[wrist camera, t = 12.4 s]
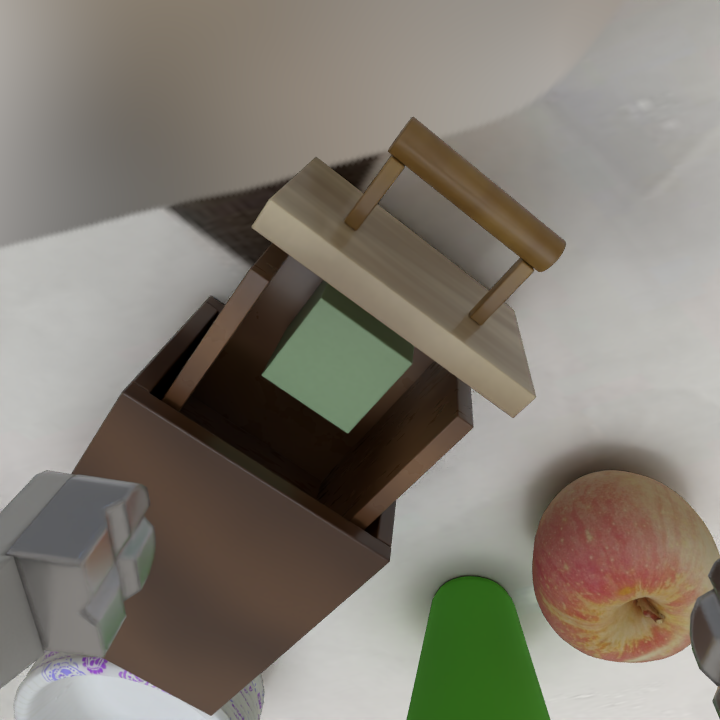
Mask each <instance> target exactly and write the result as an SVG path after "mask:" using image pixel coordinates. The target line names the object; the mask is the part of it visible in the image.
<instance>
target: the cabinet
mask: <svg viewBox="0 0 720 720" xmlns="http://www.w3.org/2000/svg"><path fill="white" fill-rule="evenodd" d="M224 306H225V305H223V304H222V303H220V302H219V301H217V300H216V299H215V298H213V297H211V296H210V297H209V298H208V299H207V300H206V301H205V302H204V303H203V304H202V305H201V307H200V308H199V309H198V310H197V311H196V312H195V313H194V314H193V315H192V316H191V317H190V319H189V320H188V321H187V322H186V323H185V324H184V325H183V326H182V327H181V328H180V329H179V331H178V332H177V333H176V334H175V335H174V336H173V337H172V338H171V339H170V340H169V341H168V343H167V344H166V345H165V346H164V347H163V348H162V349H161V350H160V351H159V352H158V353H157V355H156V356H155V357H154V358H153V359H152V360H151V361H150V362H149V363H148V364H147V365H146V367H145V368H144V369H143V370H142V371H141V372H140V373H139V374H138V375H137V376H136V377H135V379H134V380H133V381H132V382H131V383H130V384H129V385H128V386H127V387H126V388H125V389H124V390H123V392H122V393H121V395H120V396H119V398H118V399H117V401H116V403H115V404H114V406H113V407H112V409H111V411H110V412H109V414H108V416H107V417H106V419H105V420H104V422H103V424H102V425H101V427H100V428H99V430H98V432H97V433H96V435H95V436H94V438H93V440H92V441H91V443H90V444H89V446H88V448H87V449H86V451H85V452H84V454H83V456H82V457H81V459H80V461H79V462H78V464H77V465H76V467H75V469H74V470H73V472H72V473H71V474H74V475H78V474H80V475H86V476H93V477H100V478H106V479H113V480H120V481H126V482H133V483H140V484H142V485H144V486H146V487H147V489H148V494H149V498H150V503H151V505H150V506H149V508H148V510H147V511H146V513H145V515H144V516H145V517H146V519H147V520H148V521H149V522H150V523H151V524H152V525H153V526H154V528H155V536H156V548H155V557H154V560H153V564H152V567H151V570H150V574H149V576H148V578H147V580H146V582H145V584H144V585H143V587H142V589H141V591H139V592H138V593H136V594H135V595H133V596H132V597H130V598H129V599H127V600H126V601H124V605H125V610H126V615H127V617H126V618H125V620H124V622H123V624H122V626H121V627H120V629H119V631H118V633H117V635H116V637H115V638H114V640H113V642H112V644H111V646H110V647H109V649H108V651H107V653H106V655H105V656H104V658H103V657H101V658H103V659H105V660H107V661H109V662H111V663H113V664H114V665H116V666H118V667H120V668H122V669H124V670H126V671H128V672H129V673H131V674H133V675H135V676H137V677H139V678H141V679H143V680H144V681H146V682H148V683H150V684H152V685H154V686H156V687H158V688H159V689H161V690H163V691H165V692H167V693H169V694H171V695H172V696H174V697H176V698H178V699H180V700H182V701H184V702H186V703H187V704H189V705H191V706H193V707H195V708H197V709H199V710H201V711H202V712H204V713H206V714H208V715H210V716H212V715H213V714H214V713H216V712H217V711H218V710H219V709H220V708H221V707H223V706H224V705H225V704H226V703H227V702H228V701H229V700H231V699H232V698H233V697H234V696H235V695H236V694H237V693H239V692H240V691H241V690H242V689H243V688H244V687H246V686H247V685H248V684H249V683H250V682H251V681H252V680H254V679H255V678H256V677H257V676H258V675H259V674H261V673H262V672H263V671H264V670H265V669H266V668H267V667H269V666H270V665H271V664H272V663H273V662H274V661H276V660H277V659H278V658H279V657H280V656H281V655H282V654H284V653H285V652H286V651H287V650H288V649H289V648H291V647H292V646H293V645H294V644H295V643H296V642H297V641H299V640H300V639H301V638H302V637H303V636H304V635H306V634H307V633H308V632H309V631H310V630H311V629H312V628H314V627H315V626H316V625H317V624H318V623H319V622H321V621H322V620H323V619H324V618H325V617H326V616H327V615H329V614H330V613H331V612H332V611H333V610H334V609H335V608H337V607H338V606H339V605H340V604H341V603H342V602H344V601H345V600H346V599H347V598H348V597H349V596H350V595H352V594H353V593H354V592H355V591H356V590H357V589H359V588H360V587H361V586H362V585H363V584H364V583H365V582H367V581H368V580H369V579H370V578H371V577H372V576H374V575H375V574H376V573H377V572H378V571H379V570H380V569H382V568H383V567H384V566H385V565H386V564H387V563H389V561H390V554H391V548H390V547H391V544H392V535H393V525H394V516H395V507H396V500H395V501H394V502H393V503H392V504H391V505H390V506H389V507H388V508H387V509H386V510H385V511H384V512H383V513H381V514H380V515H379V516H378V517H377V518H376V519H375V520H374V521H373V522H372V523H371V524H370V525H369V526H368V527H367V528H365V529H364V530H362V529H361V528H359V527H358V526H356V525H355V524H353V523H351V522H350V521H348V520H347V519H345V518H344V517H342V516H341V515H339V514H337V513H336V512H334V511H333V510H331V509H330V508H328V507H326V506H325V505H323V504H322V503H320V502H319V501H317V500H316V499H314V498H312V497H311V496H309V495H308V494H306V493H305V492H303V491H301V490H300V489H298V488H297V487H295V486H294V485H292V484H291V483H289V482H287V481H286V480H284V479H283V478H281V477H280V476H278V475H277V474H275V473H273V472H272V471H270V470H269V469H267V468H266V467H264V466H262V465H261V464H259V463H258V462H256V461H255V460H253V459H252V458H250V457H248V456H247V455H245V454H244V453H242V452H241V451H239V450H237V449H236V448H234V447H233V446H231V445H230V444H228V443H227V442H225V441H223V440H222V439H220V438H219V437H217V436H216V435H214V434H212V433H211V432H209V431H208V430H206V429H205V428H203V427H202V426H200V425H198V424H197V423H195V422H194V421H192V420H191V419H189V418H187V417H186V416H184V415H183V414H181V413H180V412H178V411H177V410H175V409H173V408H172V407H170V406H169V405H167V404H166V403H164V402H163V401H161V400H162V399H163V397H164V396H165V394H166V393H167V391H168V390H169V388H170V387H171V385H172V384H173V382H174V381H175V379H176V378H177V376H178V375H179V373H180V372H181V370H182V369H183V367H184V366H185V364H186V363H187V361H188V360H189V358H190V357H191V355H192V354H193V353H194V351H195V350H196V348H197V347H198V345H199V344H200V342H201V341H202V339H203V338H204V336H205V335H206V333H207V332H208V330H209V329H210V327H211V326H212V324H213V323H214V321H215V320H216V318H217V317H218V315H219V314H220V312H221V311H222V309H223V308H224Z"/></svg>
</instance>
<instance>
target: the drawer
mask: <svg viewBox="0 0 720 720" xmlns="http://www.w3.org/2000/svg"><path fill="white" fill-rule="evenodd" d="M388 152H389V153H390V154H391V156H390V158H389V159H388V160H387V162H386V163H385V165H384V166H383V167H382V169H381V170H380V171H379V173H378V174H377V176H376V177H375V178H374V180H373V181H372V182H371V184H370V185H369V186H368V188H367V189H366V191H365V192H364V193H362V192H361V191H360V190H358V189H357V188H356V187H355V186H353V185H352V184H351V183H349V182H348V181H347V180H345V179H344V178H343V177H342V176H340V175H339V174H338V173H336V172H335V171H334V170H333V169H331V168H330V167H329V166H327V165H326V164H325V163H324V162H322V161H321V160H320V159H318V158H317V157H316V158H314V159H313V160H312V161H311V162H310V163H309V164H307V165H306V166H305V167H304V168H303V169H302V170H301V171H300V172H299V173H298V174H296V175H295V176H294V177H293V178H292V179H291V180H290V181H289V182H288V183H287V184H285V185H284V186H283V187H282V188H281V189H280V190H279V191H278V192H277V193H276V194H274V195H273V196H272V197H271V198H270V199H269V200H268V202H267V203H266V205H265V206H264V208H263V210H262V211H261V213H260V214H259V216H258V217H257V219H256V220H255V222H254V223H253V225H252V228H253V229H254V230H255V231H257V232H258V233H260V234H261V235H262V236H264V237H265V238H266V239H268V240H269V241H271V242H272V243H271V245H270V246H269V247H268V248H267V249H266V250H265V252H264V253H263V254H262V255H261V256H260V257H259V259H258V260H257V261H256V262H255V263H254V265H253V266H252V267H251V268H250V269H249V271H248V272H247V274H246V275H245V277H244V278H243V280H242V281H241V283H240V284H239V286H238V287H237V289H236V290H235V292H234V293H233V295H232V296H231V298H230V299H229V301H228V302H227V304H226V305H225V306H224V308H223V309H222V311H221V312H220V314H219V315H218V317H217V318H216V320H215V321H214V323H213V324H212V326H211V327H210V329H209V330H208V332H207V333H206V335H205V336H204V338H203V339H202V341H201V342H200V344H199V345H198V347H197V348H196V350H195V351H194V353H193V354H192V355H191V357H190V358H189V360H188V361H187V363H186V364H185V366H184V367H183V369H182V370H181V372H180V373H179V375H178V376H177V378H176V379H175V381H174V382H173V384H172V385H171V387H170V388H169V390H168V391H167V393H166V394H165V396H164V397H163V399H162V400H161V401H163V402H164V403H166V404H167V405H169V406H170V407H172V408H173V409H175V410H177V411H178V412H180V413H181V414H183V415H184V416H186V417H187V418H189V419H191V420H192V421H194V422H195V423H197V424H198V425H200V426H202V427H203V428H205V429H206V430H208V431H209V432H211V433H212V434H214V435H216V436H217V437H219V438H220V439H222V440H223V441H225V442H227V443H228V444H230V445H231V446H233V447H234V448H236V449H237V450H239V451H241V452H242V453H244V454H245V455H247V456H248V457H250V458H252V459H253V460H255V461H256V462H258V463H259V464H261V465H262V466H264V467H266V468H267V469H269V470H270V471H272V472H273V473H275V474H277V475H278V476H280V477H281V478H283V479H284V480H286V481H287V482H289V483H291V484H292V485H294V486H295V487H297V488H298V489H300V490H301V491H303V492H305V493H306V494H308V495H309V496H311V497H312V498H314V499H316V500H317V501H319V502H320V503H322V504H323V505H325V506H326V507H328V508H330V509H331V510H333V511H334V512H336V513H337V514H339V515H341V516H342V517H344V518H345V519H347V520H348V521H350V522H351V523H353V524H355V525H356V526H358V527H359V528H361V529H362V530H364V529H365V528H367V527H368V526H369V525H370V524H371V523H372V522H373V521H374V520H375V519H376V518H377V517H378V516H379V515H380V514H381V513H383V512H384V511H385V510H386V509H387V508H388V507H389V506H390V505H391V504H392V503H393V502H394V501H395V500H396V499H398V498H399V497H400V496H401V495H402V494H403V493H404V492H405V491H406V490H407V489H408V488H409V487H410V486H411V485H412V484H414V483H415V482H416V481H417V480H418V479H419V478H420V477H421V476H422V475H423V474H424V473H425V472H426V471H427V470H428V469H430V468H431V467H432V466H433V465H434V464H435V463H436V462H437V461H438V460H439V459H440V458H441V457H442V456H443V455H445V454H446V453H447V452H448V451H449V450H450V449H451V448H452V447H453V446H454V445H455V444H456V443H457V442H458V441H459V440H461V439H462V438H463V437H464V436H465V435H466V434H467V433H468V432H469V431H470V430H471V429H472V428H473V413H472V399H471V388H473V389H474V390H475V391H477V392H478V393H479V394H481V395H482V396H483V397H485V398H486V399H488V400H489V401H490V402H492V403H493V404H494V405H496V406H497V407H499V408H500V409H501V410H503V411H504V412H505V413H507V414H508V415H510V416H511V417H512V418H514V417H515V416H516V415H517V414H518V413H519V412H520V411H522V410H523V409H524V408H525V407H526V406H527V405H528V404H529V403H530V402H531V401H533V400H534V399H535V398H536V394H535V390H534V386H533V382H532V378H531V374H530V371H529V367H528V363H527V359H526V355H525V351H524V347H523V343H522V339H521V335H520V331H519V327H518V323H517V319H516V315H515V311H514V310H513V309H512V308H511V307H510V306H508V305H507V304H506V303H504V302H505V301H506V300H507V299H508V298H509V297H510V296H511V294H512V293H513V292H514V291H515V290H516V289H517V288H518V287H519V286H520V285H521V284H522V283H523V282H524V281H525V280H526V279H527V278H528V277H529V276H530V275H531V274H532V273H533V271H534V269H535V270H537V271H538V272H543V271H545V270H547V269H548V268H550V267H551V266H552V265H553V264H554V263H555V262H556V261H557V260H558V259H559V257H560V256H561V254H562V253H563V251H564V249H565V247H566V242H565V241H564V240H563V239H562V238H561V237H559V236H558V235H557V234H556V233H555V232H553V231H552V230H551V229H550V228H548V227H547V226H546V225H545V224H544V223H542V222H541V221H540V220H539V219H537V218H536V217H535V216H534V215H533V214H531V213H530V212H529V211H528V210H527V209H525V208H524V207H523V206H522V205H520V204H519V203H518V202H517V201H516V200H514V199H513V198H512V197H511V196H509V195H508V194H507V193H506V192H505V191H503V190H502V189H501V188H500V187H498V186H497V185H496V184H495V183H494V182H492V181H491V180H490V179H489V178H488V177H486V176H485V175H484V174H483V173H481V172H480V171H479V170H478V169H477V168H475V167H474V166H473V165H472V164H470V163H469V162H468V161H467V160H466V159H464V158H463V157H462V156H461V155H460V154H458V153H457V152H456V151H455V150H453V149H452V148H451V147H450V146H449V145H447V144H446V143H445V142H444V141H442V140H441V139H440V138H439V137H438V136H436V135H435V134H434V133H433V132H431V131H430V130H429V129H428V128H427V127H425V126H424V125H423V124H422V123H421V122H419V121H418V120H417V119H415V118H414V117H412V118H411V119H410V120H409V121H408V123H407V124H406V125H405V127H404V128H403V130H402V131H401V132H400V134H399V135H398V137H397V138H396V139H395V141H394V142H393V144H392V145H391V146H390V148H389V150H388ZM405 166H406V167H408V168H409V169H410V170H411V171H413V172H414V173H415V174H416V175H418V176H419V177H420V178H421V179H423V180H424V181H425V182H426V183H428V184H429V185H430V186H431V187H433V188H434V189H435V190H436V191H438V192H439V193H440V194H441V195H443V196H444V197H445V198H446V199H448V200H449V201H450V202H451V203H453V204H454V205H455V206H456V207H458V208H459V209H460V210H462V211H463V212H464V213H465V214H467V215H468V216H469V217H470V218H472V219H473V220H474V221H475V222H477V223H478V224H479V225H480V226H482V227H483V228H484V229H485V230H487V231H488V232H489V233H490V234H492V235H493V236H494V237H495V238H497V239H498V240H499V241H500V242H502V243H503V244H504V245H505V246H507V247H508V248H509V249H510V250H512V251H513V252H514V253H515V254H517V255H518V256H519V257H520V258H519V259H518V260H517V261H516V262H515V263H514V265H513V266H512V267H511V268H510V269H509V270H508V271H507V272H506V273H505V274H504V275H503V276H502V277H501V278H500V280H499V281H498V282H497V283H496V284H495V285H494V286H493V287H492V288H491V289H490V290H488V289H486V288H485V287H484V286H482V285H481V284H480V283H479V282H477V281H476V280H475V279H473V278H472V277H471V276H470V275H468V274H467V273H466V272H464V271H463V270H462V269H460V268H459V267H458V266H457V265H455V264H454V263H453V262H451V261H450V260H449V259H448V258H446V257H445V256H444V255H442V254H441V253H440V252H439V251H437V250H436V249H435V248H433V247H432V246H431V245H429V244H428V243H427V242H426V241H424V240H423V239H422V238H420V237H419V236H418V235H417V234H415V233H414V232H413V231H411V230H410V229H409V228H408V227H406V226H405V225H404V224H402V223H401V222H400V221H398V220H397V219H396V218H395V217H393V216H392V215H391V214H389V213H388V212H387V211H386V210H384V209H383V208H382V207H380V206H379V205H378V202H379V201H380V200H381V198H382V197H383V196H384V194H385V193H386V192H387V190H388V189H389V188H390V186H391V185H392V184H393V182H394V181H395V180H396V178H397V177H398V176H399V174H400V173H401V172H402V170H403V169H404V167H405ZM533 268H534V269H533ZM323 280H324V281H326V282H327V283H328V284H330V285H331V286H332V287H334V288H335V289H337V290H338V291H339V292H341V293H342V294H343V295H345V296H346V297H348V298H349V299H350V300H352V301H353V302H354V303H356V304H357V305H359V306H360V307H361V308H363V309H364V310H365V311H367V312H368V313H369V314H371V315H372V316H374V317H375V318H376V319H378V320H379V321H380V322H382V323H383V324H385V325H386V326H387V327H389V328H390V329H391V330H393V331H394V332H396V333H397V334H398V335H400V336H401V337H402V338H404V339H405V340H407V341H408V342H409V343H411V344H412V345H413V346H414V354H413V363H412V365H411V366H410V367H409V368H408V369H407V371H406V372H405V373H404V374H403V375H402V376H401V377H400V378H399V379H398V380H397V381H396V382H395V383H394V385H393V386H392V387H391V388H390V389H389V390H388V391H387V392H386V393H385V394H384V395H383V396H382V398H381V399H380V400H379V401H378V402H377V403H376V404H375V405H374V406H373V407H372V408H371V409H370V410H369V412H368V413H367V414H366V415H365V416H364V417H363V418H362V419H361V420H360V421H359V422H358V423H357V425H356V426H355V427H354V428H353V429H352V430H351V431H350V432H349V433H346V432H344V431H343V430H341V429H340V428H339V427H337V426H336V425H334V424H333V423H331V422H330V421H328V420H327V419H325V418H324V417H322V416H321V415H319V414H318V413H316V412H315V411H313V410H312V409H310V408H309V407H307V406H306V405H304V404H303V403H301V402H300V401H298V400H297V399H296V398H294V397H293V396H291V395H290V394H288V393H287V392H285V391H284V390H282V389H281V388H279V387H278V386H276V385H275V384H273V383H272V382H270V381H269V380H267V379H266V378H264V377H263V376H262V373H263V371H264V369H265V367H266V365H267V363H268V362H269V360H270V358H271V356H272V354H273V353H274V351H275V349H276V347H277V345H278V343H279V342H280V340H281V338H282V336H283V334H284V333H285V331H286V329H287V328H288V326H289V325H290V324H291V322H292V321H293V320H294V318H295V317H296V316H297V314H298V313H299V312H300V310H301V309H302V308H303V306H304V305H305V304H306V303H307V301H308V300H309V299H310V297H311V296H312V295H313V293H314V292H315V291H316V289H317V288H318V287H319V285H320V284H321V283H322V281H323Z"/></svg>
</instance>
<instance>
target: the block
mask: <svg viewBox="0 0 720 720" xmlns="http://www.w3.org/2000/svg"><path fill="white" fill-rule="evenodd" d="M413 354H414V346H413V345H412V344H411V343H409V342H408V341H407V340H405V339H404V338H402V337H401V336H400V335H398V334H397V333H396V332H394V331H393V330H391V329H390V328H389V327H387V326H386V325H385V324H383V323H382V322H380V321H379V320H378V319H376V318H375V317H374V316H372V315H371V314H369V313H368V312H367V311H365V310H364V309H363V308H361V307H360V306H359V305H357V304H356V303H354V302H353V301H352V300H350V299H349V298H348V297H346V296H345V295H343V294H342V293H341V292H339V291H338V290H337V289H335V288H334V287H332V286H331V285H330V284H328V283H327V282H326V281H324V280H323V281H322V283H321V284H320V285H319V287H318V288H317V289H316V291H315V292H314V293H313V295H312V296H311V297H310V299H309V300H308V301H307V303H306V304H305V305H304V306H303V308H302V309H301V310H300V312H299V313H298V314H297V316H296V317H295V318H294V320H293V321H292V322H291V324H290V325H289V326H288V328H287V329H286V331H285V333H284V334H283V336H282V338H281V340H280V342H279V343H278V345H277V347H276V349H275V351H274V353H273V354H272V356H271V358H270V360H269V362H268V363H267V365H266V367H265V369H264V371H263V373H262V376H263V377H264V378H266V379H267V380H269V381H270V382H272V383H273V384H275V385H276V386H278V387H279V388H281V389H282V390H284V391H285V392H287V393H288V394H290V395H291V396H293V397H294V398H296V399H297V400H298V401H300V402H301V403H303V404H304V405H306V406H307V407H309V408H310V409H312V410H313V411H315V412H316V413H318V414H319V415H321V416H322V417H324V418H325V419H327V420H328V421H330V422H331V423H333V424H334V425H336V426H337V427H339V428H340V429H341V430H343V431H344V432H346V433H349V432H350V431H351V430H352V429H353V428H354V427H355V426H356V425H357V423H358V422H359V421H360V420H361V419H362V418H363V417H364V416H365V415H366V414H367V413H368V412H369V410H370V409H371V408H372V407H373V406H374V405H375V404H376V403H377V402H378V401H379V400H380V399H381V398H382V396H383V395H384V394H385V393H386V392H387V391H388V390H389V389H390V388H391V387H392V386H393V385H394V383H395V382H396V381H397V380H398V379H399V378H400V377H401V376H402V375H403V374H404V373H405V372H406V371H407V369H408V368H409V367H410V366H411V365H412V363H413Z"/></svg>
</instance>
